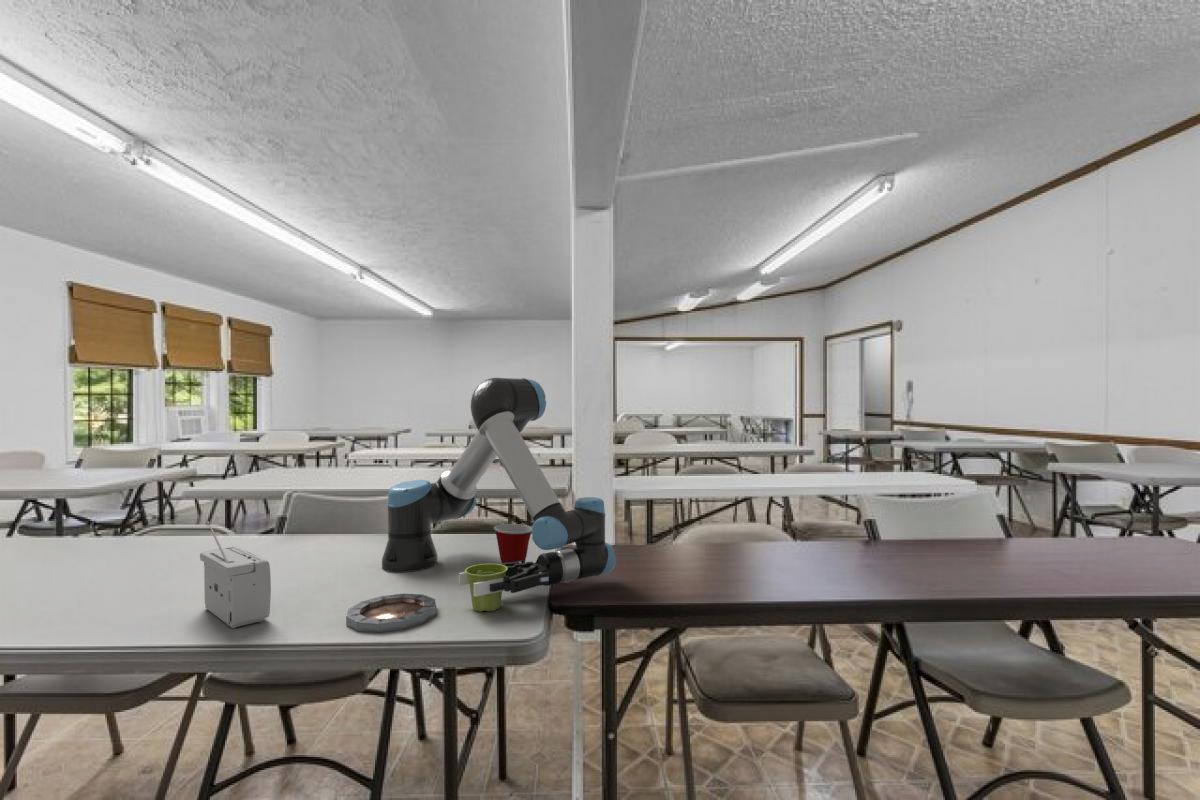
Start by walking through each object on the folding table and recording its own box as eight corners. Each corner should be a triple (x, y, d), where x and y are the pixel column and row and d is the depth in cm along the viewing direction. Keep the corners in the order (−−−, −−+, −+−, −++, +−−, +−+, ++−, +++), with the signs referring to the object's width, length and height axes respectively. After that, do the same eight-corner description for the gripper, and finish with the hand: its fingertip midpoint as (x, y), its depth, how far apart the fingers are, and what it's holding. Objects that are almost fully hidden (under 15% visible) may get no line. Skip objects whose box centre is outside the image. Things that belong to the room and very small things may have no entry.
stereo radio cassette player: (272, 621, 125) (271, 527, 125) (228, 632, 119) (227, 534, 119) (239, 600, 139) (239, 515, 139) (198, 609, 133) (198, 521, 133)
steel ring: (351, 607, 132) (350, 599, 133) (433, 597, 138) (433, 590, 138) (343, 637, 115) (343, 628, 115) (438, 625, 121) (438, 616, 121)
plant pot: (489, 597, 138) (489, 560, 138) (516, 606, 132) (516, 567, 132) (456, 609, 131) (456, 570, 131) (484, 618, 125) (483, 577, 125)
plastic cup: (533, 575, 156) (533, 530, 156) (492, 577, 154) (492, 531, 154) (534, 564, 166) (533, 521, 166) (495, 565, 165) (495, 523, 165)
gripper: (579, 594, 132) (485, 615, 120) (536, 572, 150) (450, 589, 137) (579, 561, 132) (485, 579, 120) (536, 543, 150) (450, 557, 137)
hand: (466, 584), depth 129 cm, fingers closed on plant pot, 8 cm apart
